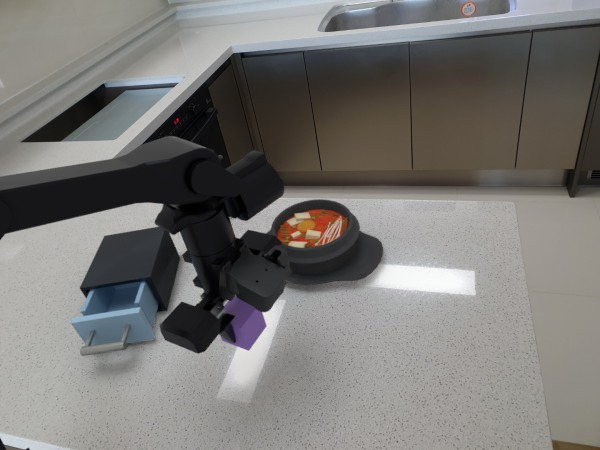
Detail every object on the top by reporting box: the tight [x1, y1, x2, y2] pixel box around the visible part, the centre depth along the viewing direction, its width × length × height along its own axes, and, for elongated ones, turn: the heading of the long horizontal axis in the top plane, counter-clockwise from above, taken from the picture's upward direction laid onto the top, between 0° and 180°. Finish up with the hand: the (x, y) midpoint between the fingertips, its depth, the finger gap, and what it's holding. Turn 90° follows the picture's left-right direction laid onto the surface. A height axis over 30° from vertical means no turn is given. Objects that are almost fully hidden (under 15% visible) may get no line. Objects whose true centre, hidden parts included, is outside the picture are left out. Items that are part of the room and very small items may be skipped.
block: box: [220, 295, 267, 351], centre depth 62 cm, size 4×4×4 cm
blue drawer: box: [70, 281, 159, 357], centre depth 79 cm, size 18×11×7 cm, turn 2°
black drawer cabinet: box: [79, 226, 181, 313], centre depth 87 cm, size 15×13×9 cm
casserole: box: [265, 198, 384, 286], centre depth 85 cm, size 25×19×8 cm
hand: (242, 328), depth 63 cm, fingers closed on block, 4 cm apart
